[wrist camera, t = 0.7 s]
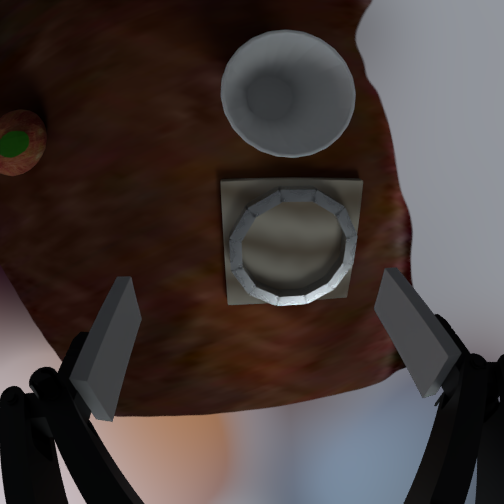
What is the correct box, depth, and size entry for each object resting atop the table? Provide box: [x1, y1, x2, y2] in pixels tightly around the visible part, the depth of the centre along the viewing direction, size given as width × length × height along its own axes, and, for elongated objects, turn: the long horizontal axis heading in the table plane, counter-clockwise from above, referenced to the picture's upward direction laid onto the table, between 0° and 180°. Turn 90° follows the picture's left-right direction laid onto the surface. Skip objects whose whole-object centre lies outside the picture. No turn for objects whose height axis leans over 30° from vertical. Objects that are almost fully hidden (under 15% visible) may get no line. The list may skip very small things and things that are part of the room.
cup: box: [221, 30, 356, 158], centre depth 26 cm, size 10×10×14 cm
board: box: [221, 178, 363, 305], centre depth 40 cm, size 18×18×1 cm
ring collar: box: [229, 186, 357, 306], centre depth 39 cm, size 16×16×2 cm
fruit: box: [0, 109, 47, 176], centre depth 26 cm, size 9×10×10 cm
